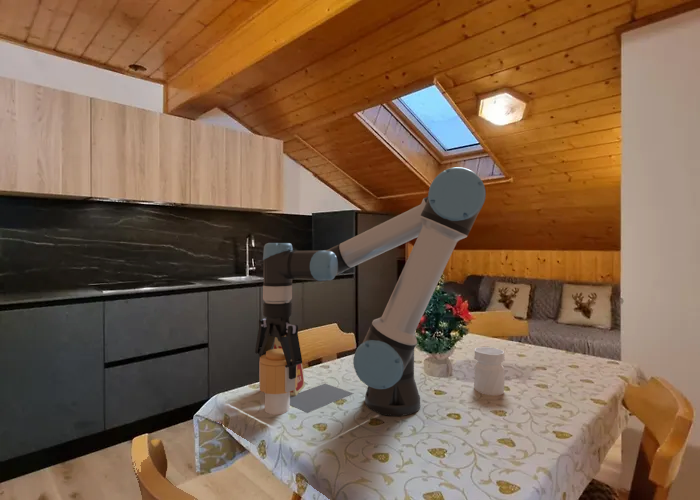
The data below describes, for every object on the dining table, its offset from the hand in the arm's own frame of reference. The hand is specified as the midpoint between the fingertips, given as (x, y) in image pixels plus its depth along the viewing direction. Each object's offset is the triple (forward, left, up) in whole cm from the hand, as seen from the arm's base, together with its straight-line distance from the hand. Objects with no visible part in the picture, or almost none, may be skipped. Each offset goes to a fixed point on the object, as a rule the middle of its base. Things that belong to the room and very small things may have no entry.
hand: (277, 385), depth 104 cm
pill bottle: (-35, -53, -7) cm, 64 cm away
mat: (-2, -13, -7) cm, 15 cm away
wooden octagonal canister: (0, 0, 0) cm, 1 cm away
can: (0, 0, -7) cm, 7 cm away
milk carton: (+10, -11, -7) cm, 16 cm away
